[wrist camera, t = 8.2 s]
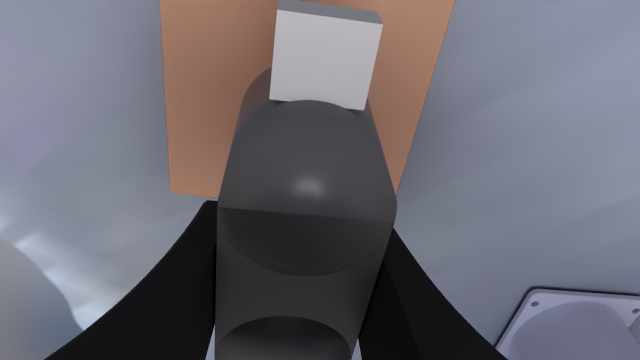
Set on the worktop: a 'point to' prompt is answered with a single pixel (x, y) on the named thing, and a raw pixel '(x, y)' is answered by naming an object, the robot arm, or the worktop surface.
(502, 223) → the worktop surface
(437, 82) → the worktop surface
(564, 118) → the worktop surface
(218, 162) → the terracotta trivet
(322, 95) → the charger plug
